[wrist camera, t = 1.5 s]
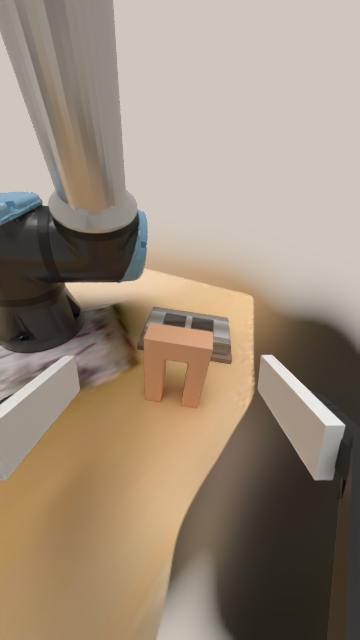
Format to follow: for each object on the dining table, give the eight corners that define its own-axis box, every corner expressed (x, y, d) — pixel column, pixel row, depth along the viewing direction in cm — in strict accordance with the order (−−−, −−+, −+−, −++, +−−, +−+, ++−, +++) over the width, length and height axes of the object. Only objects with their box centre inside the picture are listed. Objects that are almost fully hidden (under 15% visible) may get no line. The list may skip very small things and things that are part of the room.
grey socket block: (230, 363, 39) (236, 349, 36) (137, 348, 40) (136, 333, 37) (227, 329, 47) (232, 315, 44) (150, 317, 47) (150, 303, 45)
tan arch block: (196, 408, 31) (212, 349, 23) (145, 399, 32) (143, 338, 24) (197, 390, 34) (213, 332, 26) (150, 382, 34) (150, 322, 26)
